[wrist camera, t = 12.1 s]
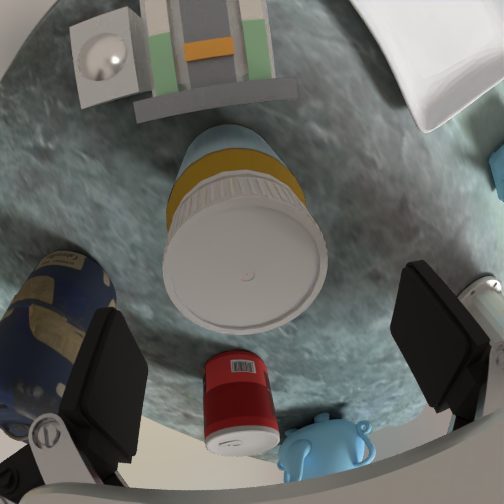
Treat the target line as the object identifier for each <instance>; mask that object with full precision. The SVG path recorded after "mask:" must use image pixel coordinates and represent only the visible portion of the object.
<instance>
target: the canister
mask: <svg viewBox="0 0 504 504" xmlns="http://www.w3.org/2000/svg"><path fill="white" fill-rule="evenodd" d="M103 307H114V308H116V292H115V289H114V286H113V284H112V282H111V280H110V278H109V276H108V275H107V273H106V272H105V271H104V270H103V269H102V268H101V267H100V266H99V265H98V264H97V263H95V262H94V261H93V260H91V259H90V258H88V257H86V256H84V255H82V254H79V253H76V252H72V251H56V252H53V253H51V254H49V255H47V256H46V257H44V258H43V259H42V260H41V261H40V262H39V264H38V265H37V266H36V268H35V269H34V270H33V272H32V273H31V275H30V276H29V277H28V279H27V280H26V282H25V283H24V284H23V286H22V287H21V289H20V290H19V292H18V293H17V295H15V297H14V298H13V300H12V302H11V304H10V306H9V307H8V309H7V311H6V312H5V314H4V316H3V317H2V319H1V321H0V428H1V429H2V430H3V431H4V432H5V434H6V435H8V436H9V437H10V438H12V439H14V440H17V441H23V442H25V443H27V444H29V439H28V434H29V429H30V427H31V425H32V423H33V422H34V420H35V419H37V418H38V417H39V416H41V415H43V414H47V413H52V414H56V415H58V412H59V405H60V402H61V399H62V396H63V393H64V390H65V387H66V384H67V381H68V379H69V376H70V373H71V370H72V368H73V365H74V362H75V360H76V357H77V354H78V352H79V349H80V347H81V344H82V342H83V339H84V337H85V334H86V332H87V329H88V327H89V325H90V322H91V320H92V318H93V315H94V313H95V311H96V309H98V308H103Z"/></svg>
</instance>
